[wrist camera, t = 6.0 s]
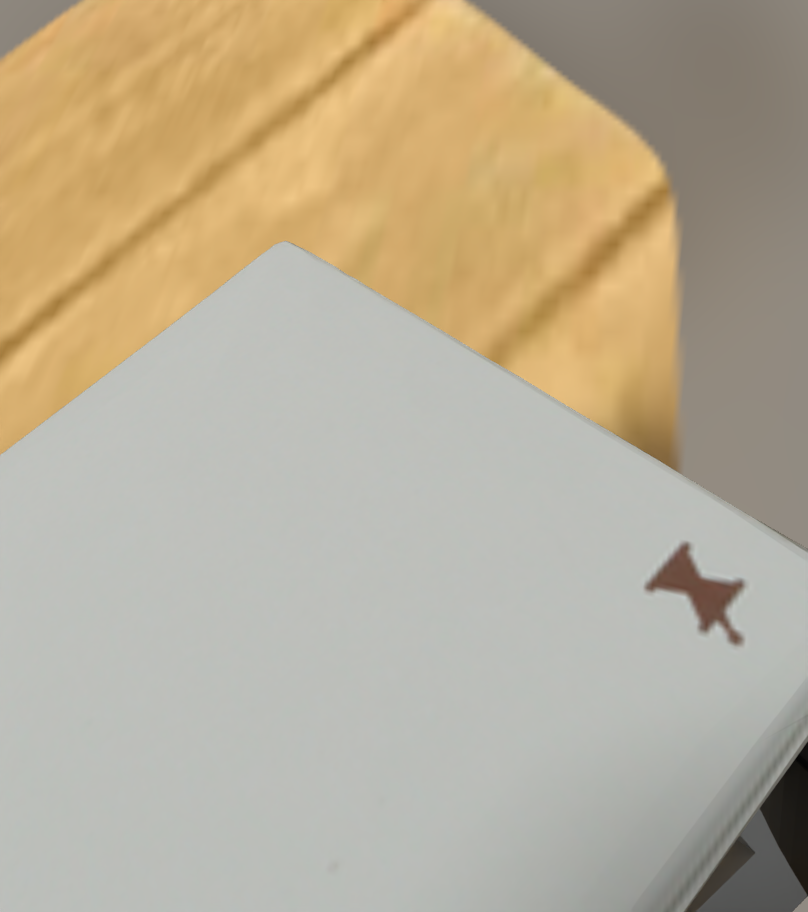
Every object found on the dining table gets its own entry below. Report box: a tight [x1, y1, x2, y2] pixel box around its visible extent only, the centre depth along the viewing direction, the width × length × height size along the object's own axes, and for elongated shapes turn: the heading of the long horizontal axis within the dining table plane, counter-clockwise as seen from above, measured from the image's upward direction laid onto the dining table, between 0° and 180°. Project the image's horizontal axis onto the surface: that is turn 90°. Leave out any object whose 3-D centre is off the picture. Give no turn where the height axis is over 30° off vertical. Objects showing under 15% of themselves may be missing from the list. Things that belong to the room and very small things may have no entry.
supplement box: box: [0, 241, 808, 912], centre depth 10 cm, size 7×7×13 cm
